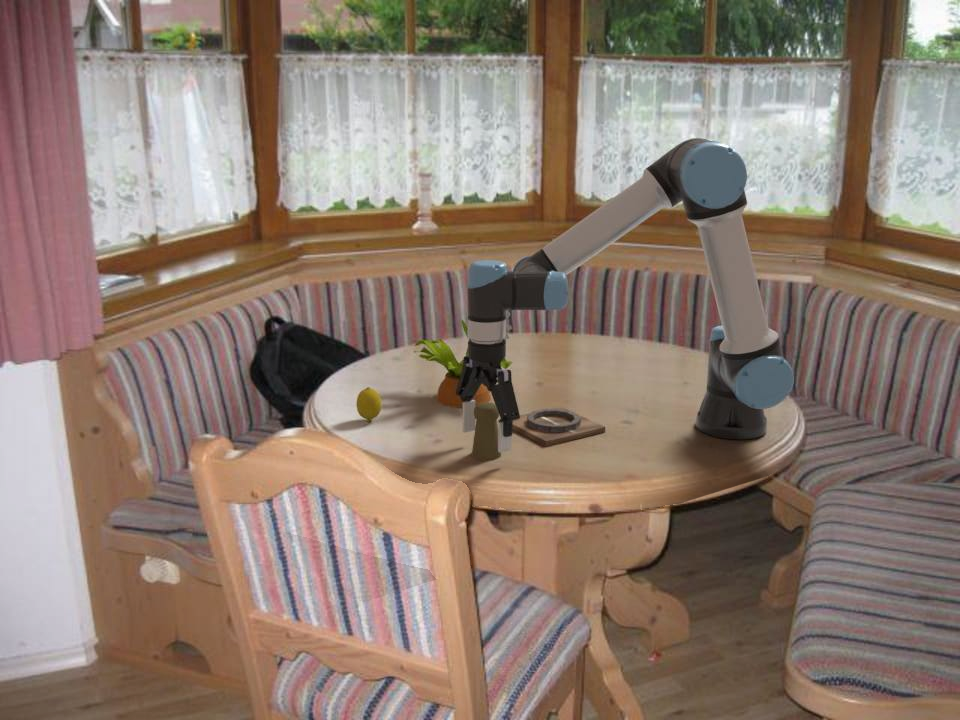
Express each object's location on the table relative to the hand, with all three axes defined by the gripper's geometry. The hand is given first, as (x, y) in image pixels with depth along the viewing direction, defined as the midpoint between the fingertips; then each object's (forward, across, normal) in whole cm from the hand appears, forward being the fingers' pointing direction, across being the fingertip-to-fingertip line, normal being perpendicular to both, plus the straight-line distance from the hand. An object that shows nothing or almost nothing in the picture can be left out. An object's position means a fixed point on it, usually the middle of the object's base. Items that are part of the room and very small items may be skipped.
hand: (486, 440), depth 200 cm
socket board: (+3, +5, -21) cm, 22 cm away
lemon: (+3, +31, +11) cm, 33 cm away
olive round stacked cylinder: (+3, 0, 0) cm, 3 cm away
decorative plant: (+3, +34, -14) cm, 37 cm away
